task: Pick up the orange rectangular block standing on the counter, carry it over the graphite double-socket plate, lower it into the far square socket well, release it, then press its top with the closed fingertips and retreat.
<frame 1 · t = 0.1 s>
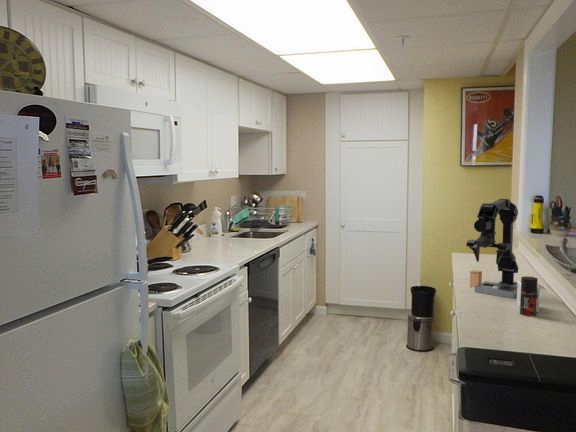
hand: (487, 262, 243), 15 cm above the worktop, tool pointing down, fingers open, 9 cm apart
socket plate: (499, 292, 245), on the worktop
light bulb box: (527, 309, 218), on the worktop
orange rectangular block: (475, 287, 257), on the worktop
deodorant: (527, 314, 209), on the worktop
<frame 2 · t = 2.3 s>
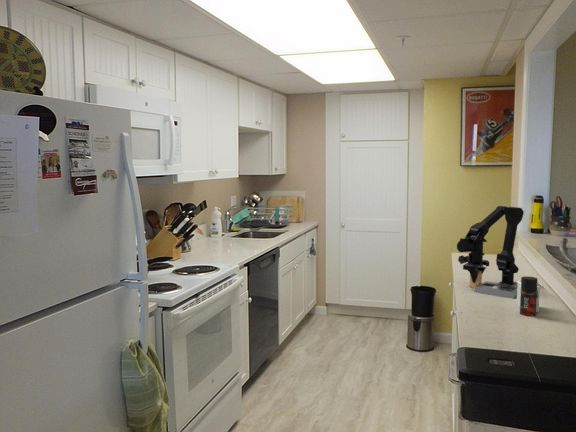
hand: (475, 281, 256), 3 cm above the worktop, tool pointing down, fingers closed on orange rectangular block, 4 cm apart
orange rectangular block: (475, 286, 257), on the worktop, touching gripper
everything else where it was.
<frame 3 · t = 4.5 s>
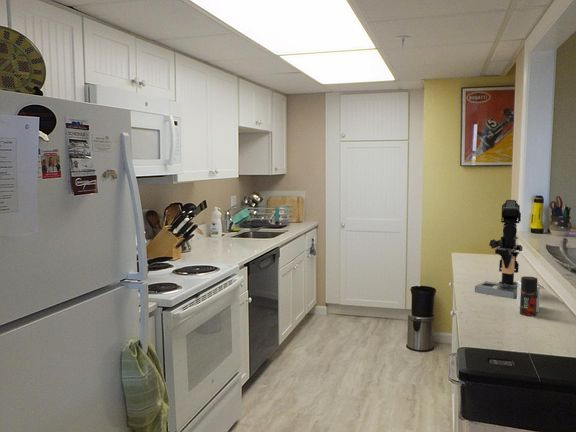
hand: (508, 267, 241), 13 cm above the worktop, tool pointing down, fingers closed on orange rectangular block, 4 cm apart
orange rectangular block: (507, 272, 242), point 10 cm above the worktop, touching gripper
everything else where it was.
when the fingers open (4 cm above the worktop, at t = 6.5 s): orange rectangular block drops 1 cm, resting in socket plate.
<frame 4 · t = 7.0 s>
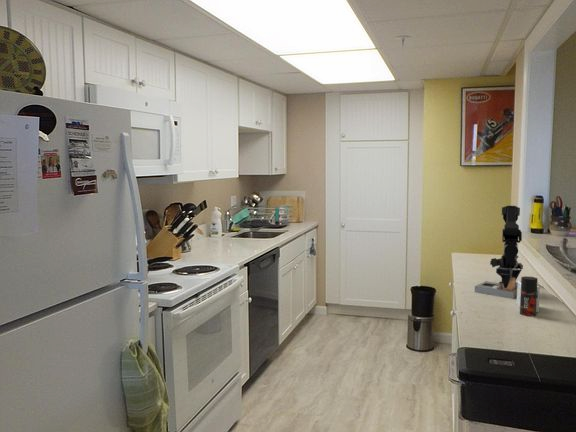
hand: (509, 286, 242), 4 cm above the worktop, tool pointing down, fingers open, 9 cm apart
orange rectangular block: (508, 294, 242), resting in socket plate
everything else where it was.
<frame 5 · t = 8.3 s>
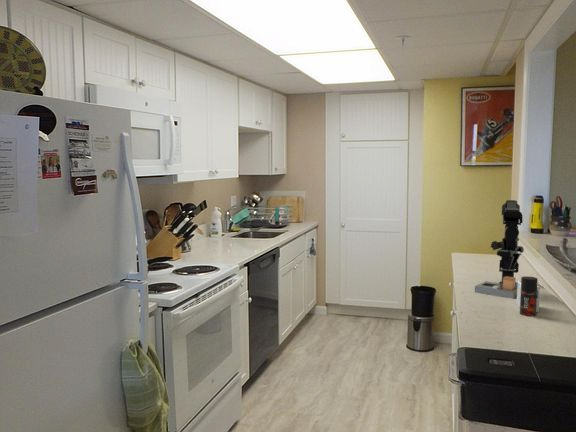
hand: (509, 269, 241), 12 cm above the worktop, tool pointing down, fingers open, 5 cm apart
nothing on the worktop moved.
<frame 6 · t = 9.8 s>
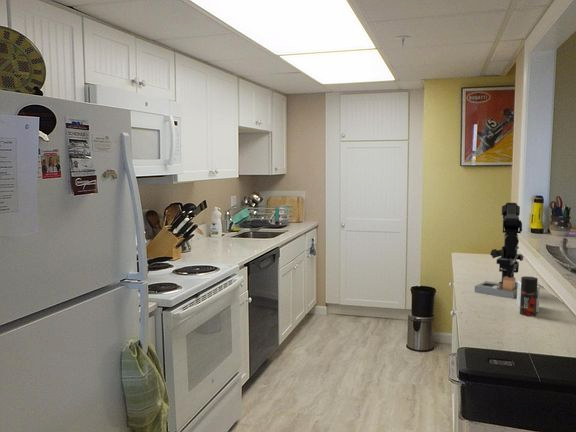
hand: (509, 277, 241), 8 cm above the worktop, tool pointing down, fingers closed
nothing on the worktop moved.
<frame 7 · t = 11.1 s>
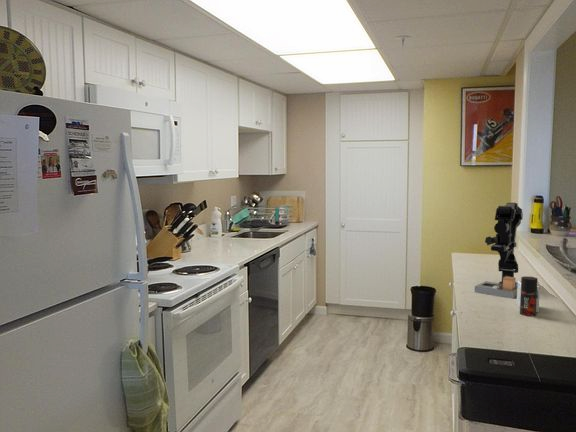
hand: (503, 263, 251), 13 cm above the worktop, tool pointing down, fingers closed
nothing on the worktop moved.
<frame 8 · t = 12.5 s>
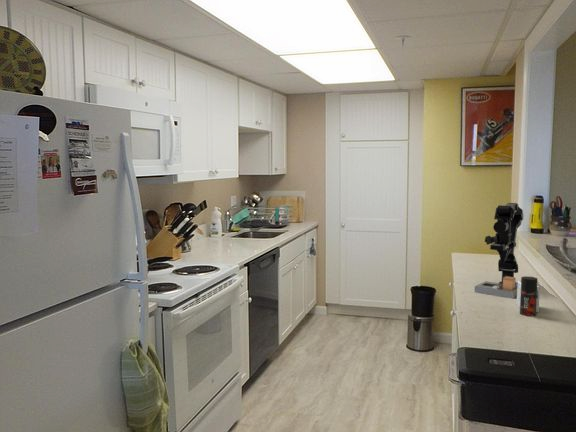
hand: (502, 262, 252), 13 cm above the worktop, tool pointing down, fingers closed
nothing on the worktop moved.
at the end: orange rectangular block 0.1 cm from the target spot on the socket plate, point 0.0 cm above the socket plate's base; orange rectangular block tilted 0°; the gripper is holding nothing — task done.
